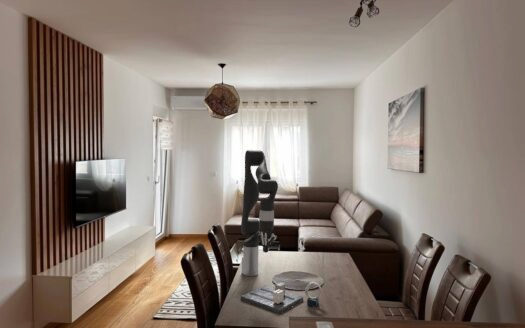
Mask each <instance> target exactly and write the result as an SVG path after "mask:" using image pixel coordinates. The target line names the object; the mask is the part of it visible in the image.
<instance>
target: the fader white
mask: <svg viewBox="0 0 525 328" xmlns="http://www.w3.org/2000/svg"><path fill="white" fill-rule="evenodd" d="M283 301H284V291H283V290H280V289H278V290H276V291H274V292H273V302H274V303H277V304H279V303H281V302H283Z"/></svg>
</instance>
